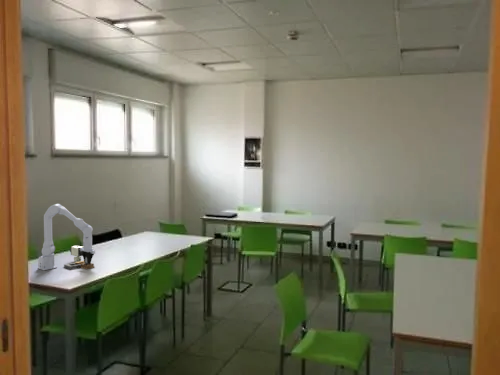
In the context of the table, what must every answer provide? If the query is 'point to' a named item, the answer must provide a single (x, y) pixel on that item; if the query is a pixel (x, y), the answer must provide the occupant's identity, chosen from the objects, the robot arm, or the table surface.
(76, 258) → the pneumatic valve
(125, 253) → the table surface
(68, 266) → the socket block
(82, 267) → the rack
